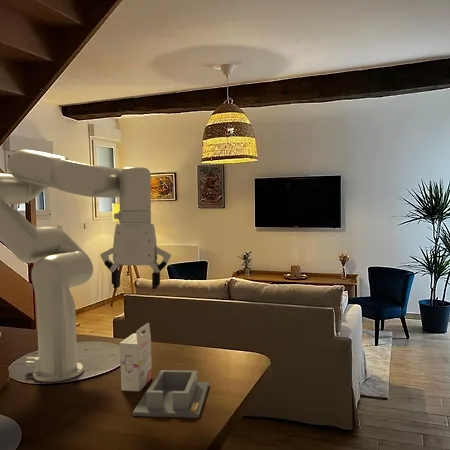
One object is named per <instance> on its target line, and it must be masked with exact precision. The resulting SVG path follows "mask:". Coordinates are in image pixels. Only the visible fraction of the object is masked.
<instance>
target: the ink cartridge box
mask: <svg viewBox="0 0 450 450" xmlns="http://www.w3.org/2000/svg"><path fill="white" fill-rule="evenodd" d="M135 331H136V332H135V333H132V334H130V335H129V336H128V337H126V338H125V339H124V340H121V341H120V342H119V359H120V360H119V361H120V382H121V383H120V384H121V385H120V386H121V391H123V392H124V391H127V392H141V391H142V390H143V388H144V387H145V386H146V385H147V384H148V383H149V382H150V381H151V380H152V378H153V377H152V376H153V375H152V338H151V337H152V336H151V327H150V322H147V323H146V324H144V325H143V326H141V327H140V328H139V329H137V330H135ZM143 332H144V333H143Z"/></svg>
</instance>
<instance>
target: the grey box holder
mask: <svg viewBox="0 0 450 450" xmlns="http://www.w3.org/2000/svg"><path fill="white" fill-rule="evenodd" d="M198 380H199V379H198V370H180V369H179V370H176V369H174V370H173V369H172V370H171V369H170V370H169V369H168V370H167V369H160V371H159V372H158V374H157V375H156V377H155V378H154V380H152V382H151V383H150V385H149V386H148V388H147V389H146V390H145V392H144V394H143V396H142V397H141V399H140V400H139V402H138V403H137V405H136V406H135V408H134V410H133V411H132V416H133V417H152V418H153V417H163V418H188V419H189V418H190V419H191V418H194V419H195V418H196V419H197V418H198V419H199V417H200V416H201V411H202V409H203V404H204V403H205V399H206V396H207V393H208V389H209V387H210V382H209V381H198Z"/></svg>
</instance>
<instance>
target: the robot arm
mask: <svg viewBox="0 0 450 450" xmlns="http://www.w3.org/2000/svg"><path fill="white" fill-rule="evenodd" d="M6 166H7V169H8V172H9V173H10V174H9V173H0V241H1V242H2V243H3V244H4V245H5V246H6V247H7V249H9V250H10V252H11V253H12V254H13V255H14V256H15V257H16V258H17V259H18V260H19V261H21V262H22V263H26V264H31V263H32V264H33V263H34V265H33V266H32V269H31V282H32V286H33V290H34V294H35V302H36V318H37V319H36V322H37V347H38V349H37V352H38V356H36V357H35V356H27V357H26V359H25V367H29V368H30V367H34V370H33V372H32V379H34V380H36V381H38V382H45V383H55V382H56V383H57V382H61V381H67V380H70V379H72V378H76V377H78V376H79V375H81V374H82V373H83V371H84V364H82V363H81V362H78V352H77V351H78V349H77V345H78V344H77V319H76V318H77V317H76V316H77V313H76V303H75V299H74V297H73V295H72V293H71V291H70V288H73V287H77V286H80V285H84V284H85V283H87V282H88V281H89V280H90V279H91V278H92V276H93V272H94V266H93V262H92V260H91V258H90V257H89V255H88V254H87V253H86V252H85V251H84V250H83V249H82V248H81V247H80V246H79V245H78V244H77V242H75V241H74V240H73V238H71V237H70V236H69V234H67V233H66V232H65V231H63V230H62V229H60V228H58V227H55V226H36V225H34V224H32V223H31V222H30V221H29V220H28V219H27V218H26V217H25V216H24V215H23V214H22V213H21V212H19V211H18V210H17V209H15V208H13V207H11V206H9V205H22V204H26V203H29V202H30V201H32V200H33V199H35V198H36V197H38V195H40V194H41V193H42V192H44V191H45V190H46V189H48V188H53V189H57V190H58V191H61V192H62V191H63V192H65V193H70V194H74V195H78V196H84V197H87V198H88V197H90V198H107V199H109V198H111V199H114V198H119V210H118V212H117V213H114V214H113V219H114V220H118V222H119V223H116V224H115V229H114V234H113V235H114V236H113V247H111V248H109V249H108V250H105V251H104V252H102V253H101V254H100V257H101V260H102V261H103V263H104V265H105V267H106V268H107V269H108V270H109V272H111V285H112V287H113V289H117V288H119V287H120V286H121V271H120V270H119V268H120V267H121V266H149V267H150V268H151V269H152V270H153V272H152V274H151V275H152V276H151V285H152V288H151V289H153V290H156V289H158V287H159V286H160V284H161V271H162V270H163V269H164V268H165V267H166V266H167V265H168V262H169V260H170V259H171V257H172V254H171V253H170V252H168V251H165V250H163V249H162V248H160V247H158V245H157V236H156V230H155V225H154V223H152V182H151V181H152V179H151V178H152V177H151V170H149V168H146V167H142V166H141V167H140V166H131V167H130V166H126V167H122V168H118V167H110V166H102V165H94V164H87V163H81V162H77V161H72V160H70V158H68V157H67V156H62V155H58V154H52V153H49V152H44V151H39V150H31V149H19V150H16V151H14V152H13V153H11V154H10V156H9V157H8V160H7V165H6ZM110 255H112V260H110V257H109V256H110ZM158 255H159V256H161V257H162V261H161V262H160V263H158V262H157V261H158Z"/></svg>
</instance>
